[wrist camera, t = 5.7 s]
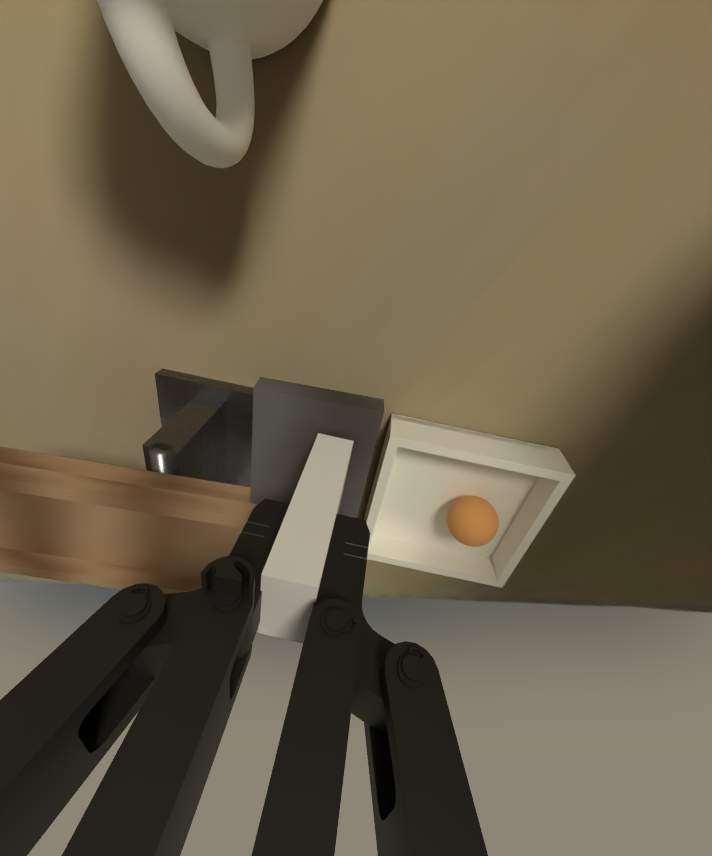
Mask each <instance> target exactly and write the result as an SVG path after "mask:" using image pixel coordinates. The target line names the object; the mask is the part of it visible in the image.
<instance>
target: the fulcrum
mask: <svg viewBox="0 0 712 856" xmlns="http://www.w3.org/2000/svg"><path fill="white" fill-rule="evenodd" d="M155 379H156V386H157V394H158V402H159V409H160V417H161V424H162V428H160V429H159V430H158V431H157V432H156V433H155V434H154V435H153V436H152V437H151V438H150V439H149V440H148V441H146V442H145V443H144V444H143V451H144V457H145V463H146V468H147V471H152V472H159V473H165V474H171V475H177V476H183V477H189V478H195V479H201V480H207V481H214V482H220V483H226V484H232V485H238V486H244V487H250V488H251V458H252V423H253V388H250V387H246V386H241V385H236V384H232V383H227V382H222V381H217V380H213V379H208V378H203V377H199V376H194V375H189V374H185V373H180V372H175V371H170V370H166V369H161V370H160V371H158V372H157V373H155Z"/></svg>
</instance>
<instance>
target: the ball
mask: <svg viewBox="0 0 712 856" xmlns="http://www.w3.org/2000/svg"><path fill="white" fill-rule="evenodd" d="M447 525H448V528H449V531H450V533H451V534H452V536H453V537H454V538H455V539H456V540H457V541H459V542H460V543H462V544H464V545H467V546H471V547H479V546H483V545H485V544H487V543H489V542H490V541H491V540H492V539H493V538H494V537H495V535H496V533H497V531H498V527H499V519H498V515H497V513H496V510H495V509H494V507H493V506H492V505H491V504H490V503H489V502H488V501H487V500H485V499H483V498H481V497H478V496H464V497H461V498H459V499H457V500H456V501H455V502H454V503H453V504H452V505H451V506H450V508H449V510H448V513H447Z"/></svg>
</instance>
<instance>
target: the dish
mask: <svg viewBox="0 0 712 856" xmlns="http://www.w3.org/2000/svg"><path fill="white" fill-rule="evenodd" d="M575 476H576V475H575V473H574V472H573V470H572V469H571V467H570V465H569V464H568V462H567V461H566V459H565V457H564V456H563V454H562V453H561V451H560V449H558V448H553V447H548V446H543V445H539V444H534V443H529V442H525V441H520V440H515V439H511V438H506V437H501V436H496V435H492V434H487V433H482V432H478V431H473V430H468V429H463V428H459V427H454V426H449V425H445V424H440V423H435V422H431V421H426V420H421V419H416V418H412V417H407V416H402V415H398V414H393V413H392V414H391V418H390V421H389V425H388V429H387V433H386V436H385V440H384V444H383V448H382V451H381V455H380V459H379V463H378V466H377V470H376V474H375V478H374V481H373V485H372V489H371V493H370V496H369V500H368V504H367V508H366V511H365V515H364V519H363V520H366V523H367V526H368V529H369V531H370V538H369V546H368V555H367V559H369V560H374V561H379V562H383V563H388V564H393V565H397V566H402V567H407V568H411V569H416V570H421V571H425V572H430V573H435V574H440V575H444V576H449V577H454V578H458V579H463V580H468V581H472V582H477V583H482V584H486V585H491V586H496V587H500V588H502V587H503V586H504V584H505V583H506V581H507V580H508V578H509V577H510V575H511V574H512V572H513V571H514V569H515V567H516V566H517V564H518V563H519V561H520V560H521V558H522V557H523V555H524V554H525V552H526V551H527V549H528V548H529V546H530V545H531V543H532V541H533V540H534V538H535V537H536V535H537V534H538V532H539V531H540V529H541V528H542V526H543V525H544V523H545V522H546V520H547V519H548V517H549V515H550V514H551V512H552V511H553V509H554V508H555V506H556V505H557V503H558V502H559V500H560V499H561V497H562V496H563V494H564V492H565V491H566V489H567V488H568V486H569V485H570V483H571V482H572V480H573V479H574V477H575ZM464 496H478V497H481V498H483V499H485V500H487V501H488V502H489V503H490V504H491V505H492V506H493V507H494V509H495V510H496V513H497V515H498V519H499V527H498V531H497V533H496V535H495V537H494V538H493V539H492V540H491V541H490V542H489V543H487V544H485V545H483V546H479V547H471V546H467V545H464V544H462V543H460V542H459V541H457V540H456V539H455V538H454V537H453V536H452V534H451V533H450V531H449V528H448V525H447V513H448V510H449V508H450V506H451V505H452V504H453V503H454V502H455V501H456V500H457V499H459V498H461V497H464Z"/></svg>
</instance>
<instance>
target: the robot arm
mask: <svg viewBox="0 0 712 856" xmlns="http://www.w3.org/2000/svg"><path fill="white" fill-rule="evenodd" d="M353 442H354V441H352V440H347V439H343V438H338V437H333V436H329V435H324V434H320V433H318V435H317V437H316V440H315V442H314V445H313V447H312V450H311V452H310V455H309V457H308V460H307V462H306V465H305V467H304V470H303V472H302V475H301V477H300V480H299V482H298V485H297V487H296V490H295V492H294V495H293V497H292V500H291V502H290V504H287V503H283V502H278V501H274V500H269V499H264V500H263V501H262V502H260V503H259V504H258V505H257V506H255V507H254V508H253V510H252V512H251V514H250V516H249V518H248V520H247V523H246V524H245V526H244V528H243V529H242V532H241V533H240V535H239V537H238V539H237V541H236V543H235V545H234V547H233V549H232V551H231V553H230V555H229V556H225V557H221V558H217V559H216V560H214V561H212V562H211V563H209V564H207V566H206V567H205V568H204V569H203V570H202V572H201V583H202V588H200V589H197V590H194V591H189V592H180V593H169V594H164V593H163V591H162V590H161V589H160V588H159V587H158V586H156V585H152V584H149V583H142V584H134V585H132V586H129V587H126V588H124V589H122V590H121V591H120V592H118V593H117V594H116V595H114V596H113V597H112V598H110V599H109V600H108V601H107V602H106V603H105V604H104V605H103V606H102V607H101V608H100V609H99V610H97V611H96V612H95V614H93V615H92V616H91V617H90V618H89V619H88V620H87V621H86V622H85V623H84V624H82V625H81V626H80V627H79V628H78V629H77V630H76V631H75V632H74V633H73V634H71V635H70V636H69V637H68V638H67V639H66V640H65V641H64V642H63V643H62V644H61V645H60V646H59V647H58V648H56V649H55V650H54V651H53V652H52V653H51V654H50V655H49V656H48V657H47V658H45V659H44V660H43V661H42V662H41V663H40V664H39V665H38V666H37V667H36V668H35V669H34V670H33V671H31V672H30V673H29V674H28V675H27V676H26V677H25V678H24V679H23V680H22V681H21V682H20V683H19V684H17V685H16V686H15V687H14V688H13V689H12V690H11V691H10V692H9V693H8V694H7V695H5V696H4V697H3V698H2V699H1V700H0V856H27V855H28V853H29V852H30V851H31V850H32V848H33V847H34V846H35V844H36V843H37V842H38V841H39V839H40V838H41V836H42V835H43V834H44V833H45V832H46V830H47V829H48V828H49V826H50V825H51V824H52V822H53V821H54V820H55V819H56V817H57V816H58V815H59V813H60V812H61V811H62V810H63V808H64V807H65V806H66V804H67V803H68V802H69V800H70V799H71V798H72V796H73V795H74V794H75V793H76V791H77V790H78V788H80V786H81V785H82V784H83V782H84V781H85V780H86V778H87V777H88V776H89V775H90V773H91V772H92V771H93V769H94V768H95V767H96V765H97V764H98V763H99V762H100V760H101V759H102V758H103V757H104V755H105V754H106V752H107V751H108V750H109V749H110V747H111V746H112V745H113V743H114V742H115V741H116V740H117V738H118V737H119V736H120V734H121V733H122V732H123V731H124V729H125V728H126V727H127V725H128V724H129V723H130V722H131V720H132V719H133V718H134V716H135V715H136V714H137V713H138V714H137V716H136V718H135V720H134V721H133V723H132V725H131V727H130V729H129V731H128V733H127V735H126V736H125V738H124V740H123V742H122V744H121V746H120V748H119V750H118V751H117V753H116V755H115V757H114V759H113V761H112V763H111V765H110V766H109V768H108V770H107V772H106V774H105V776H104V778H103V780H102V781H101V783H100V785H99V787H98V789H97V791H96V793H95V794H94V796H93V798H92V800H91V802H90V804H89V806H88V808H87V810H86V811H85V813H84V815H83V817H82V819H81V821H80V823H79V825H78V826H77V828H76V830H75V832H74V834H73V836H72V838H71V839H70V841H69V843H68V845H67V847H66V849H65V851H64V852H63V854H62V856H180V854H181V851H182V849H183V846H184V843H185V840H186V837H187V834H188V831H189V829H190V826H191V823H192V820H193V817H194V815H195V812H196V809H197V806H198V803H199V800H200V798H201V795H202V792H203V789H204V786H205V783H206V781H207V778H208V775H209V772H210V769H211V766H212V764H213V761H214V758H215V755H216V752H217V749H218V747H219V743H220V741H221V738H222V735H223V732H224V730H225V727H226V724H227V720H228V718H229V715H230V712H231V710H232V706H233V704H234V701H235V698H236V696H237V693H238V690H239V687H240V684H241V681H242V679H243V676H244V673H245V670H246V667H247V665H248V661H249V659H250V656H251V650H252V642H253V640H254V637H255V634H256V631H257V628H258V633H260V634H265V635H269V636H273V637H278V638H282V639H286V640H291V641H295V642H300V643H303V647H302V651H301V655H300V659H299V664H298V668H297V672H296V676H295V680H294V684H293V688H292V692H291V697H290V700H289V705H288V709H287V713H286V717H285V721H284V725H283V729H282V733H281V738H280V742H279V746H278V750H277V754H276V758H275V763H274V766H273V770H272V774H271V778H270V782H269V787H268V791H267V795H266V799H265V803H264V807H263V811H262V816H261V820H260V823H259V828H258V832H257V836H256V840H255V844H254V848H253V852H252V856H334V853H335V844H336V836H337V827H338V818H339V810H340V802H341V793H342V784H343V776H344V768H345V759H346V750H347V741H348V733H349V725H350V715H351V713H352V714H354V715H355V716H357V717H358V718H360V719H361V720H362V721H364V726H365V736H366V745H367V755H368V764H369V774H370V783H371V792H372V803H373V812H374V821H375V831H376V841H377V851H378V856H488V854H487V851H486V847H485V843H484V839H483V836H482V832H481V828H480V824H479V821H478V817H477V813H476V810H475V806H474V802H473V798H472V794H471V791H470V787H469V783H468V780H467V776H466V772H465V768H464V765H463V761H462V757H461V753H460V750H459V746H458V742H457V738H456V735H455V731H454V727H453V723H452V720H451V716H450V712H449V709H448V705H447V701H446V697H445V693H444V690H443V686H442V682H441V678H440V675H439V671H438V668H437V666H436V664H435V661H434V659H433V657H432V656H431V655H430V654H429V653H428V652H427V650H425V649H424V648H423V647H421V646H419V645H418V644H416V643H411V642H406V641H405V642H401V643H397V644H394V643H392V642H390V641H389V640H387V639H385V638H384V637H382V636H381V635H379V634H378V633H377V632H375V631H374V630H373V629H372V628H371V627H370V626H369V624H368V623H367V621H366V620H365V617H364V615H363V612H362V595H363V587H364V579H365V571H366V563H367V555H368V546H369V538H370V531H369V529H368V526H367V523H366V520H363V519H358V518H354V517H349V516H345V515H341V514H338V511H339V506H340V502H341V498H342V494H343V489H344V484H345V480H346V475H347V470H348V466H349V461H350V456H351V451H352V447H353ZM138 711H139V712H138Z"/></svg>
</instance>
